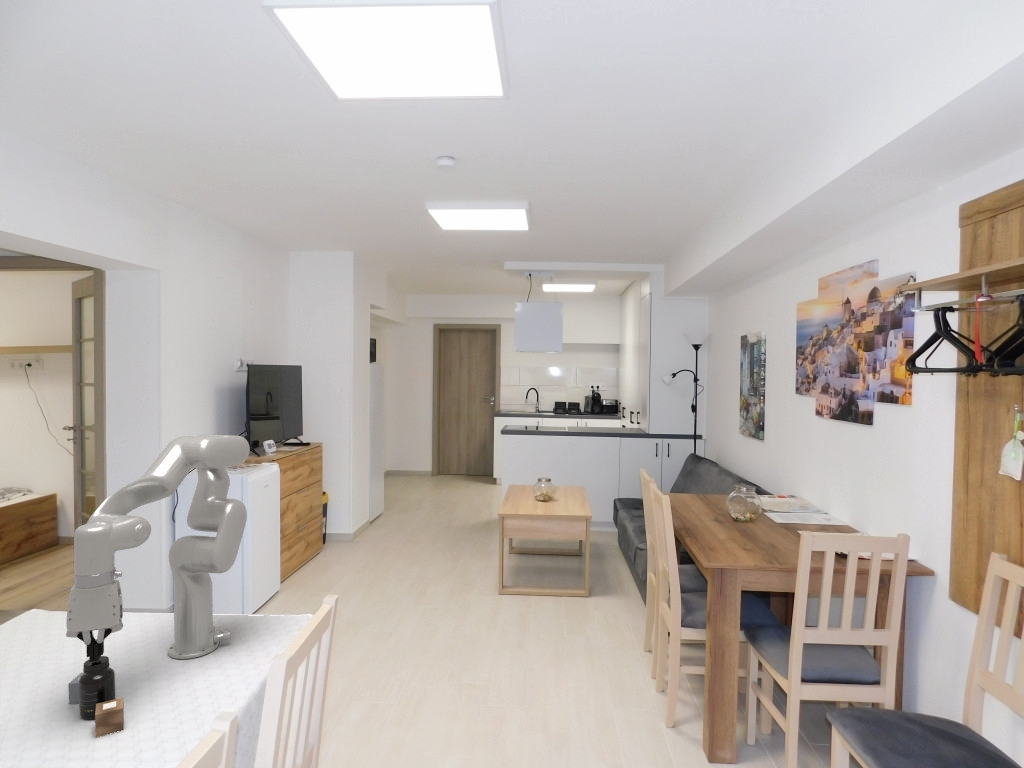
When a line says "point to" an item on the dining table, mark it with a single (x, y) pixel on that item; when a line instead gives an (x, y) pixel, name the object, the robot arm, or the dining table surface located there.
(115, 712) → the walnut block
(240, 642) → the dining table surface
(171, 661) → the dining table surface
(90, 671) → the supplement bottle
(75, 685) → the slate grey block
